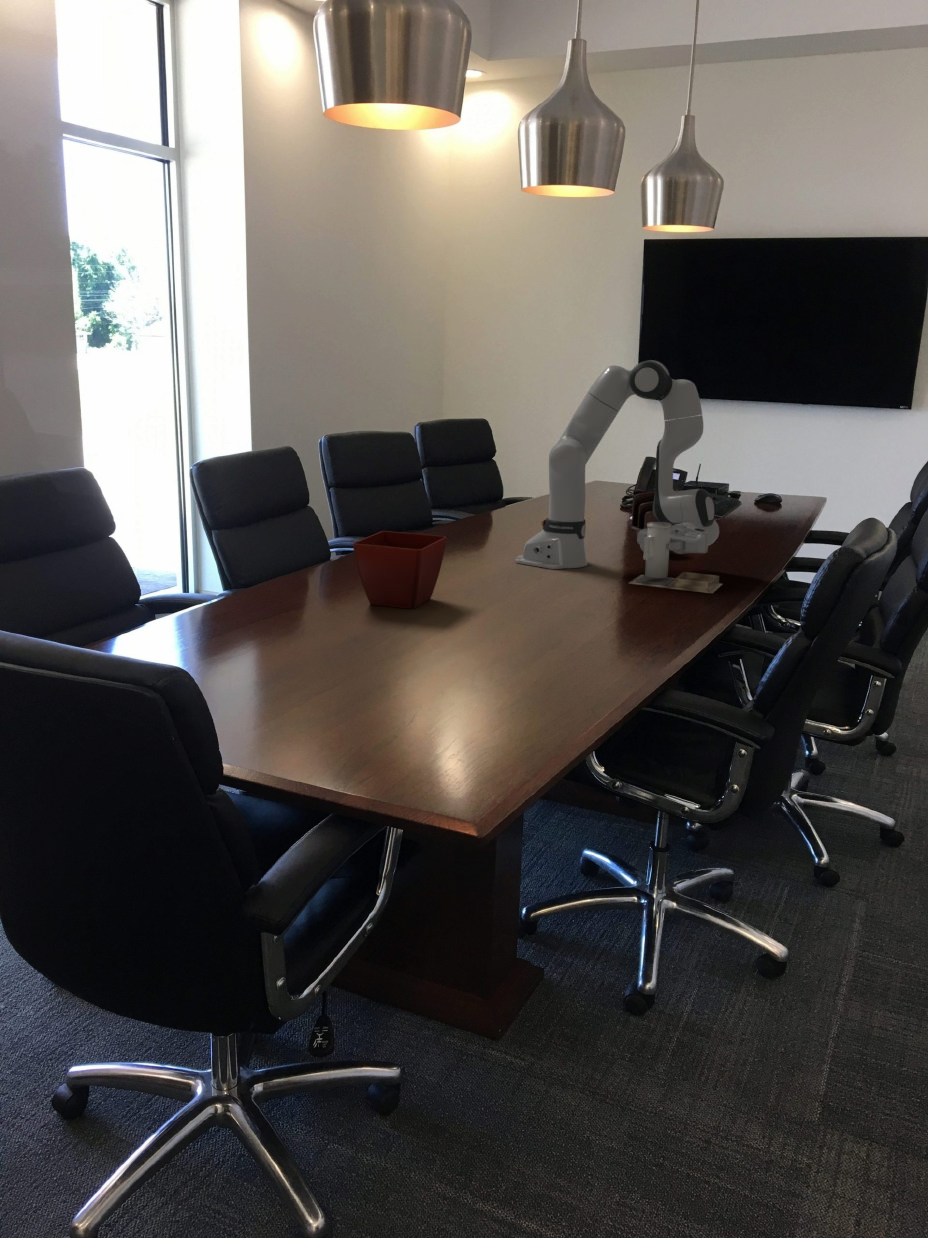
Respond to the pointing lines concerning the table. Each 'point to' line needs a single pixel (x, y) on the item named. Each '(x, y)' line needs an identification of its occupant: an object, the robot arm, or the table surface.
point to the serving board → (682, 582)
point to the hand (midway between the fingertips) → (656, 544)
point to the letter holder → (643, 511)
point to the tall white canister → (657, 549)
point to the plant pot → (399, 567)
